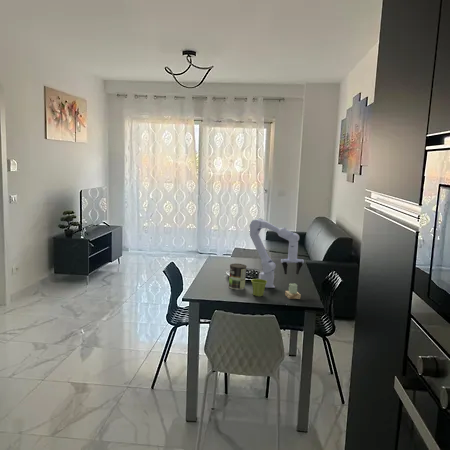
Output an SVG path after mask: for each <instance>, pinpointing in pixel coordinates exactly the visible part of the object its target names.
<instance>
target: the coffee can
mask: <svg viewBox="0 0 450 450" xmlns="http://www.w3.org/2000/svg"><path fill="white" fill-rule="evenodd" d="M246 273H247V265H246V264H243V263H230V265H229V277H228V278H229V279H228V288H229V289H231V290H237V291H239V290H240V291H241V290H245V287H246Z"/></svg>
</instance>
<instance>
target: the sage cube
mask: <svg viewBox="0 0 450 450" xmlns="http://www.w3.org/2000/svg"><path fill="white" fill-rule="evenodd" d="M288 291H289V293H294V294H297V292H298V284H297V283H288Z"/></svg>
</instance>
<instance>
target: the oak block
mask: <svg viewBox="0 0 450 450" xmlns="http://www.w3.org/2000/svg"><path fill="white" fill-rule="evenodd" d="M284 295H285V297H287V298H288V299H289V300H296V299H297V300H301V295H302V294H300V293H299V292H298V291H297V294H294V293H289V290H285V293H284Z"/></svg>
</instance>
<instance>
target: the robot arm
mask: <svg viewBox="0 0 450 450" xmlns="http://www.w3.org/2000/svg"><path fill="white" fill-rule="evenodd" d="M262 229H267V230H271V231H272V232H274V233H276V234H277V235H278V237H280V238H282V239H284V240H286V241H288V252H287V258H281V259H280V263H281V265H282V268H283V271H284V273H283V274H284V275H287V274H288V264H291V263H295V265H296V271H295V274H296V275H299V273H300V270H301V268H302V267H303V264H304V263H305V260H304V259H302V258H298V251H299V241H300V235H299V234H298V233H297V232H294V231H290V230H289V229H287V227H278V226H277V225H274V224H273V223H271V222H269V221H267V220H266V219H263V218H257V219H253V220H252V221H250V223H249V237H250V239H251V241H252V243H253V245H254V247H255V249H256V251H257V254H258V255H259V258H260V260H261V261H260V263H261V267H262V268H261V269H262V272H259V274H258V279H263V280H266V281H267V283H266V285H265V288H267V289H268V288H276V286H275V284H274V282H275V279H274V278H275V270H276V266H277V265H276V263H275V262H274V261H273V260H272V258H271V257H270V256H269V254H268V252H267V249H266V247H265V245H264V243H263V241H262V239H261V236H260V235H259V234H260V232H261V230H262Z"/></svg>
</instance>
